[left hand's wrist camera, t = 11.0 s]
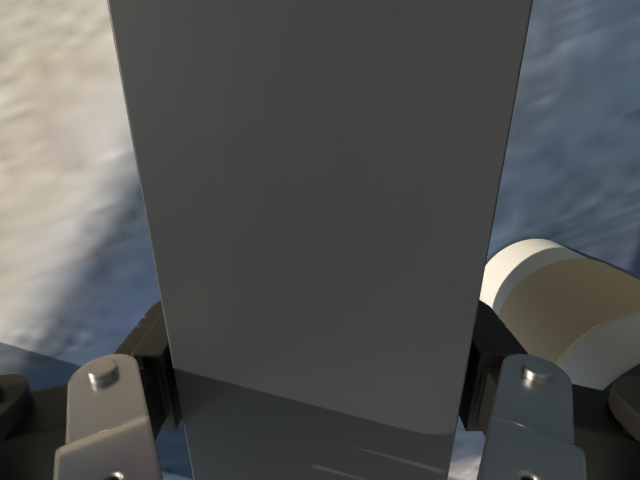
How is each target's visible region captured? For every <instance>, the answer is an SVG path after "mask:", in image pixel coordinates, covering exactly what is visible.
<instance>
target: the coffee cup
mask: <svg viewBox="0 0 640 480" xmlns="http://www.w3.org/2000/svg"><path fill="white" fill-rule="evenodd" d="M479 300H481V301H483V302H484V303H486V304H487V305H489V306H490V307H491V308H492V309H493V311H494V312H495V313H496V314H497V315H498V317H499V319H501V320H502V322H503V323H504V324H505V325H506V328H508V329H509V330H510V332H511V333H512V334H513V335H514V337H515V338H516V339H517V340H518V342H519V343H520V344H521V345H522V347H523V348H524V349H525V350H526V351H527V353H528V354H529V355H533V356H537V357H540V358H543V359H546V360H548V361H550V362H552V363H554V364H555V365H557V366H558V367H560V368H561V369H562V370H563V371H564V372H565V373H566V374H567V375H568V376H569V378H570V380H571V382H572V384H576V385H580V386H585V387H589V388H594V389H599V390H603V391H608V392H611V390H612V387H613V384H614V381H615V380H616V379H617V378H619V377H622V376H639V377H640V280H639V279H636V278H634V277H632V276H630V275H628V274H626V273H624V272H622V271H620V270H618V269H616V268H613V267H611V266H609V265H607V264H605V263H603V262H600V261H597V260H592V259H588V258H586V257H584V256H582V255H580V254H578V253H576V252H574V251H572V250H570V249H568V248H566V247H564V246H562V245H560V244H558V243H556V242H553V241H550V240H545V239H529V240H524V241H520V242H517V243H514V244H512V245H510V246H508V247H506V248H505V249H503V250H501V251H500V252H499V253H497V254H496V255H495V256H494V257H493V258H492V259H491V260H490V261H489V262H488V264H487V265H486V266H485V271H484V277H483V282H482V288H481V293H480V299H479Z"/></svg>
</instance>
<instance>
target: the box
mask: <svg viewBox="0 0 640 480" xmlns="http://www.w3.org/2000/svg"><path fill="white" fill-rule="evenodd" d="M107 3H108V9H109V15H110V20H111V26H112V31H113V37H114V42H115V48H116V53H117V59H118V64H119V70H120V75H121V81H122V87H123V92H124V98H125V103H126V109H127V114H128V120H129V125H130V131H131V136H132V142H133V148H134V153H135V159H136V164H137V170H138V175H139V181H140V186H141V192H142V197H143V203H144V208H145V214H146V220H147V225H148V231H149V236H150V242H151V247H152V253H153V258H154V264H155V269H156V275H157V280H158V286H159V292H160V297H161V303H162V308H163V314H164V319H165V325H166V330H167V336H168V341H169V347H170V353H171V358H172V364H173V369H174V375H175V380H176V386H177V391H178V397H179V402H180V408H181V413H182V419H183V425H184V430H185V436H186V441H187V447H188V452H189V458H190V463H191V469H192V474H193V480H447V478H448V472H449V467H450V461H451V455H452V450H453V444H454V439H455V433H456V427H457V422H458V416H459V411H460V405H461V400H462V394H463V388H464V383H465V377H466V372H467V366H468V360H469V355H470V349H471V344H472V338H473V332H474V327H475V321H476V316H477V310H478V305H479V299H480V293H481V288H482V282H483V277H484V271H485V265H486V260H487V254H488V249H489V243H490V238H491V232H492V226H493V221H494V215H495V210H496V204H497V198H498V193H499V187H500V182H501V176H502V170H503V165H504V159H505V154H506V148H507V143H508V137H509V131H510V126H511V120H512V115H513V109H514V103H515V98H516V92H517V87H518V81H519V76H520V70H521V64H522V59H523V53H524V48H525V42H526V36H527V31H528V25H529V20H530V14H531V8H532V3H533V0H107Z"/></svg>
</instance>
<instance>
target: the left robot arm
mask: <svg viewBox="0 0 640 480" xmlns="http://www.w3.org/2000/svg"><path fill="white" fill-rule="evenodd" d="M459 416H460V418H461V420H462V423H463V425H464V427H465V430H466V431H483V433H484V435H485V437H486V440H485V444H484V449H483V453H482V458H481V462H480V467H479V471H478V476H477V480H640V377H639V376H622V377H619V378H617V379H616V380H615V381H614V384H613V387H612V390H611V392H608V391H603V390H599V389H594V388H589V387H585V386H580V385H576V384H572V382H571V380H570V378H569V376H568V375H567V374H566V373H565V372H564V371H563V370H562V369H561V368H560V367H558V366H557V365H555V364H554V363H552V362H550V361H548V360H546V359H543V358H540V357H537V356H533V355H529V354H528V353H527V351H526V350H525V349H524V348H523V347H522V345H521V344H520V343H519V342H518V340H517V339H516V338H515V337H514V335H513V334H512V333H511V332H510V330H509V329H508V328H506V325H505V324H504V323H503V322H502V320H501V319H499V317H498V315H497V314H496V313H495V312H494V311H493V309H492V308H491V307H490V306H489V305H487V304H486V303H484V302H483V301H481V300H479V305H478V310H477V316H476V321H475V327H474V332H473V338H472V344H471V349H470V355H469V360H468V366H467V372H466V377H465V383H464V388H463V394H462V400H461V405H460V411H459ZM181 418H182V413H181V408H180V402H179V397H178V391H177V386H176V380H175V375H174V369H173V364H172V358H171V353H170V347H169V341H168V336H167V330H166V325H165V319H164V314H163V308H162V303H161V300H160V301H159V302H157V303H156V304H154V305H153V306H152V307H151V308H150V309H149V310H148V312H147V313H146V314H145V315H144V318H142V319H141V320H140V322H139V323H138V324H137V327H135V328H134V329H133V330H132V332H131V333H130V334H129V335H128V337H127V338H126V339H125V340H124V342H123V343H122V344H121V345H120V347H119V348H118V349H117V350H116V352H115V353H114V354H112V355H107V356H103V357H100V358H97V359H94V360H92V361H90V362H88V363H86V364H85V365H83V366H82V367H80V368H79V369H78V370H77V371H76V372H75V373H74V374H73V375H72V376H71V378H70V380H69V382H68V383H67V384H63V385H58V386H54V387H49V388H44V389H40V390H35V391H31V390H30V387H29V385H28V382H27V380H26V378H25V377H23V376H20V375H15V374H9V375H1V376H0V480H163V476H162V471H161V467H160V462H159V458H158V453H157V449H156V444H155V440H156V438H157V436H158V434H159V432H160V430H177V428H178V425H179V423H180V421H181Z"/></svg>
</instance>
